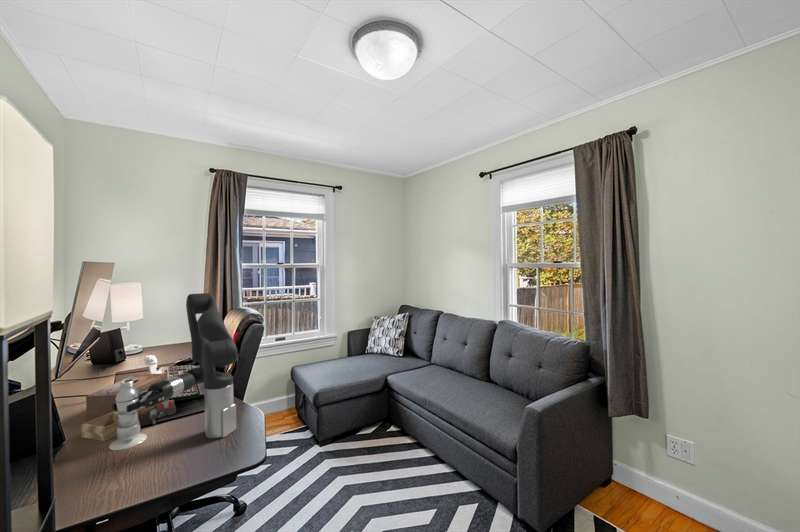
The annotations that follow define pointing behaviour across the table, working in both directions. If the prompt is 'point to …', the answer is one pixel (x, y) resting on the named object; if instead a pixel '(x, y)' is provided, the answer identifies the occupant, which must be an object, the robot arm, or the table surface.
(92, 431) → the oak holder
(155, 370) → the voxel character
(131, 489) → the table surface
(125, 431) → the plastic bottle
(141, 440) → the grey coaster
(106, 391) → the tissue box cover
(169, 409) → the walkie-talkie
